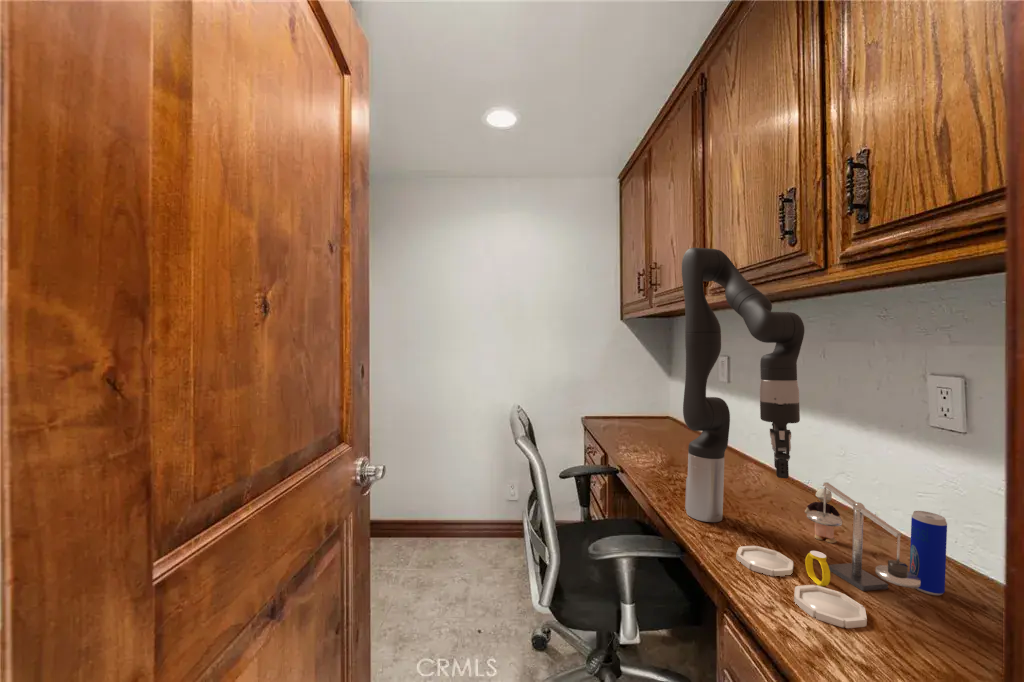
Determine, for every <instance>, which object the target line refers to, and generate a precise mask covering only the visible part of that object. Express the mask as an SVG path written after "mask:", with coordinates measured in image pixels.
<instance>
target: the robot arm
mask: <svg viewBox="0 0 1024 682" xmlns="http://www.w3.org/2000/svg"><path fill="white" fill-rule="evenodd" d="M681 279H682V280H681V281H682V287H683V296H684V314H685V315H684V317H685V323H684V324H685V325H684V326H685V327H684V328H685V329H684V330H685V331H684V333H685V335H684V337H685V338H684V339H685V345H684V346H685V379H684V380H685V381H684V391H683V403H682V413H683V414H682V415H683V420H684V423H685V426H687V428H688V429H689V430H691V431H695V432H701V433H700V435H699V436H698V437H696V438H695V439H693V440H692V441H690V442H689V443H688V449H687V450H688V451H687V453H688V456H687V457H688V459H687V476H686V477H685V500H684V501H685V503H684V504H685V505H684V507H685V508H684V510H686V512H685V513H686V514H687V516H689V517H690V518H692V519H694V520H697V521H699V522H704V523H705V522H707V523H719V522H721V521H722V520H723V512H724V511H723V509H724V488H725V487H724V482H725V455H726V451H727V448H728V444H729V437H730V436H729V435H730V423H731V413H730V408H729V406H728V404H727V402H726V401H725V400H724V399H723V398H721V397H715V396H707V383H708V379H709V376H710V374H711V372H712V370H713V368H714V366H715V364H716V362H717V361H718V359H719V356H720V354H721V350H722V330H721V324H720V321H719V319H718V317H717V316H716V314H715V312H714V311H713V309H712V307H711V306H710V304H709V303H708V301H707V298H706V296H705V288H704V282H714V283H716V284H717V285H718V284H719V285H720V286H721V287H722V288H724V289H725V290H724V295H725V296H724V297H725V299H726V302H727V304H728V305H729V306H730V308H731V309H733V311H735V312H736V313H737V314H738V315H739V316H740V317H741V319H743V322H744V324H745V325H746V327H747V329H748V332H749V334H750V335H751V336H752V337H753V338H754V339H756V340H757V341H759V342H761V343H766V344H770V343H771V344H774V343H775V346H774V348H773V352H770V353H767V354H764V355H762V356H761V358H760V365H759V367H760V369H759V370H760V383H759V385H760V386H759V407H760V408H759V411H760V414H759V415H760V417H759V418H760V419H761V421H763V422H767V423H771V426H772V428H769V437H770V445H771V447H772V450H773V453H774V454H773V455H774V456H773V457H774V459H773V461H774V462H773V463H774V468H775V470H776V473H775V475H776V477H777V478H778V479H779V478H780V479H789V477H790V475H789V461H790V459H791V455H790V452H791V451H792V450H791V449H792V444H791V440H792V432H791V429H788V428H787V427H788V426H787V425H788V424H798V423H799V422H801V421H800V420H801V415H800V409H801V408H800V389H799V384H798V366H797V365H798V364H797V363H798V362H797V361H798V359H799V355H800V352H801V349H802V344H803V341H804V336H805V324H804V321H803V319H802V318H801V317H800V316H799V314H797V313H795V312H791V311H790V312H789V311H772V309H773V305H772V301H771V300H770V299H769V298H768V297H767V296H766V295H765V294H764V293H762V292H761V291H760V290H758V289H757V288H756V287H755V286H754V285H752V283H750V282H749V281H748V280H747V279H746V278H745V277H744V276H743V275H742V273H741V272H740V271H739V270H738V268H737V267H736V265H735V264H734V263H733V262H732V261H731V259H730V258H729V257H728V256H727V255H726V254H725V252H723V251H722V250H720V249H716V248H709V247H706V248H705V247H690V248H688V249H687V250H686V251H685V252H684V254H683V257H682V261H681Z"/></svg>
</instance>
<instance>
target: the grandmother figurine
mask: <svg viewBox="0 0 1024 682" xmlns="http://www.w3.org/2000/svg"><path fill="white" fill-rule="evenodd" d="M832 496H833V494H832V492H831V491H830V490H828V489H827V488H826V512H825V513H829V514H832V515H835V516H837V517H839V518H840V519H841V520H842V516H841V514H840V513H839V511H838V510H837V508H836V507H834V506H833V505H832V504H829V503H830V502H831V500H832ZM815 497H816V498H818V500H819V501H813V502H812V503H810V504H808V505H806V508H805V510H804V513H805V514H806V515H807V512H809V511H820V512H823V506H824V487H823V488H820V489H818V490H817V491H816V492H815ZM843 522H844V521H842V524H843ZM834 534H835V533H834V526H827V525H822V524H819V523H816V522H814V539H815V538H816V539H815V540H818V541H823V540H824V539H825V538H826V539H825V542H827V543H830V544H834V543H837V539H836V538H835V537H834V536H835V535H834Z"/></svg>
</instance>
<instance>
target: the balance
mask: <svg viewBox="0 0 1024 682" xmlns="http://www.w3.org/2000/svg"><path fill="white" fill-rule="evenodd" d="M822 487H823V488H824V506H823V512H820V511H809V512H807V514H806V519H808V520H809V521H811V522H814V523H815V522H816V523H819V524H822V525H827V526H833V527H840V526H842V524H843V523H842V522H843V519H842V518H841V519H840V518H839V517H837V516H835V515H833V514H832V513H831V514H829V513H825V512H826V489H828V490H830V491H831V493H833V494H834V495H835V496H837V497H838V498H839V499H841V500H843V501H844V502H845V503H847V504H848V505H850V506H851V507H852V509H853V522H852V523H853V526H852V554H851V555H852V557H851V562H848V563H834V564H828V566H829V570H830V573H832V572H833V573H832V574H833V575H835V574H836V575H835V576H837V577H838V578H840V579H842V580H844V581H845V582H847V583H849V584H850V585H852V586H853V587H856V588H857V589H859V590H860V591H862V592H869V591H880V590H888V589H889V583H891V584H894V585H896V586H900V587H903V588H909V589H915V588H918V587H920V585H921V580H920V579H919V578H918V577H917V576H916V575H914V574H912V573H910V571H908V570H909V569H908V568H909V566H908V564H906V563H904V562H903V561H900V553H901V550H900V549H901V537H902V534H903V533H902V532H901V531H899V530H898V529H897V528H895V527H893V526H892V525H890V524H889V523H888V522H886V521H885V520H883V519H882V518H880V517H878V516H877V515H876V514H874V513H873V512H871V511H870V510H868V509H867V508H866V506H865V505H864V504H863V503H862V502H859V501H858V502H857V501H856V500H854V499H853V498H851V497H850V496H848V495H847V494H845V493H844V492H843V491H841V490H840V489H838V488H836V487H835V486H834V485H832V484H831V483H829V482H826V481H825V482H823V485H822ZM864 516H865V517H867V518H868V519H870V520H871V521H873V522H874V523H876V524H877V525H878V526H880V528H881V527H882V528H883V530H885V531H886V532H888V533H889V534H891V535H892V536H893V537H895V538H897V539H896V540H897V541H896V560H895V559H888V560H887V564H883V565H882V564H880V565H877V566H875V575H876V576H878V577H876V576H874V575H873V574H871V573H869V572H867V570H864V569H862V568H863V545H864V543H863V542H864ZM887 582H888V583H887Z"/></svg>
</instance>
